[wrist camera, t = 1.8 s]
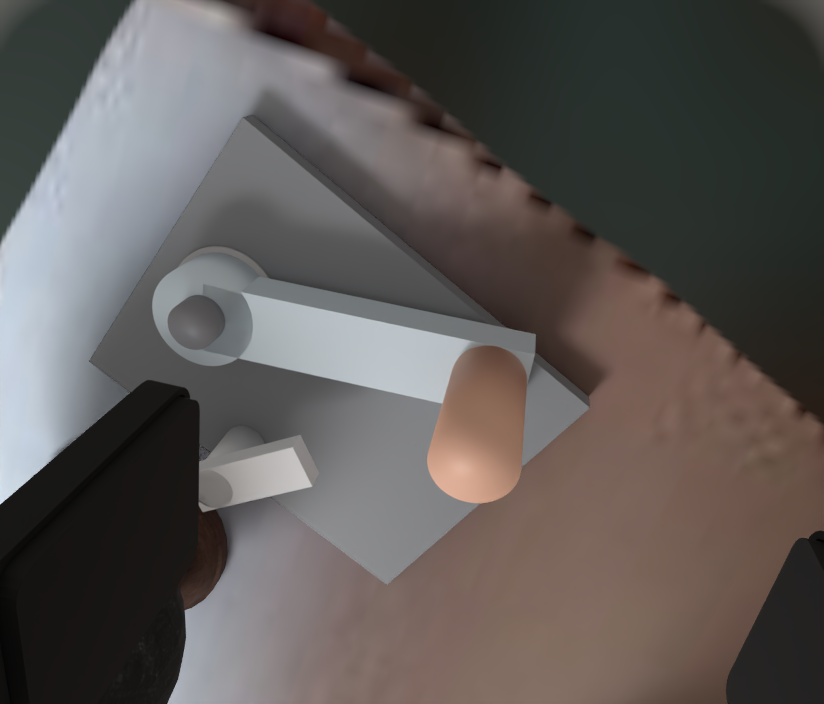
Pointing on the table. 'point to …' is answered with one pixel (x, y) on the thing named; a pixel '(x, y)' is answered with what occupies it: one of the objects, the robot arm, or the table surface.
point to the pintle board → (304, 393)
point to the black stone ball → (171, 625)
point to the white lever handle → (365, 358)
